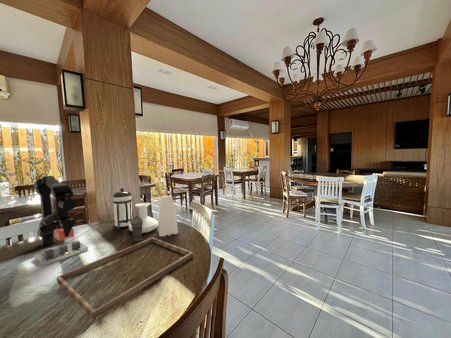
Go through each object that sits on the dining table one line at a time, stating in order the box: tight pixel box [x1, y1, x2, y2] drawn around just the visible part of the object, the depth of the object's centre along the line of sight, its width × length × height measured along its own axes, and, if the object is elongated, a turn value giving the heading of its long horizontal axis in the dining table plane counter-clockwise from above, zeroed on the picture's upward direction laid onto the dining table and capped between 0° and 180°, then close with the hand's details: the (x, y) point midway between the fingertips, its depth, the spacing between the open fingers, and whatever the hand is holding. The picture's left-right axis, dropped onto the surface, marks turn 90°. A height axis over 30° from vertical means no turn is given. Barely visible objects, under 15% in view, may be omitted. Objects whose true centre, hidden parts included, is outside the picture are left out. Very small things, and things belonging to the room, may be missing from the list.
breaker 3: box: [71, 240, 81, 249], centre depth 112 cm, size 3×3×3 cm
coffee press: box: [112, 187, 133, 231], centre depth 149 cm, size 17×16×30 cm
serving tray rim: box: [56, 236, 194, 320], centre depth 94 cm, size 35×48×2 cm
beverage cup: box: [131, 209, 143, 242], centre depth 126 cm, size 7×7×20 cm
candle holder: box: [128, 202, 159, 234], centre depth 142 cm, size 20×20×19 cm
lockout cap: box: [54, 227, 75, 242], centre depth 107 cm, size 7×7×5 cm
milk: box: [157, 195, 179, 238], centre depth 138 cm, size 12×12×26 cm
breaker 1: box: [43, 248, 54, 258], centre depth 102 cm, size 3×3×3 cm
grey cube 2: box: [58, 244, 68, 254], centre depth 107 cm, size 3×3×3 cm
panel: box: [34, 242, 89, 268], centre depth 108 cm, size 13×20×2 cm, turn 146°
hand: (64, 235), depth 107 cm, fingers closed on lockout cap, 7 cm apart
